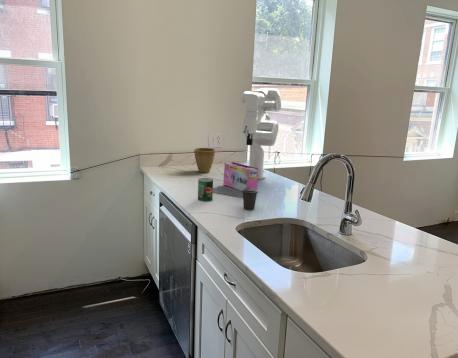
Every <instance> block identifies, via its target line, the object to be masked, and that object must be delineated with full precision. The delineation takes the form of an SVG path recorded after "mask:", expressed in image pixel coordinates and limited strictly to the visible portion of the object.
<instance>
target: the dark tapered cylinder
mask: <svg viewBox="0 0 458 358" xmlns="http://www.w3.org/2000/svg"><path fill="white" fill-rule="evenodd" d="M242 192H243V198H242V200H243V204H242V205H243V206H242V207H243V210H244V211H254V210H255V208H256V201H257V195H258V193H259V191H258V189H257V190H255V189H250V188H247V189H243V190H242Z"/></svg>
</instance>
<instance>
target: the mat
mask: <svg viewBox="0 0 458 358" xmlns="http://www.w3.org/2000/svg"><path fill="white" fill-rule="evenodd" d="M213 194H220V195H223V196H230V197H235V198H240V199H243V192H242V191H241V190H238V189H235V188H232V187H229V186H221V185H218V186H215V187H213Z"/></svg>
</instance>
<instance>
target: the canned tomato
mask: <svg viewBox="0 0 458 358" xmlns="http://www.w3.org/2000/svg"><path fill="white" fill-rule="evenodd" d="M213 188H214V179H213V178H210V177H200V178H198V181H197V201H198V202H204V203H207V202H212V201H213V200H214V199H213V197H214V192H213Z"/></svg>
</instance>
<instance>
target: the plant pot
mask: <svg viewBox="0 0 458 358" xmlns="http://www.w3.org/2000/svg"><path fill="white" fill-rule="evenodd" d="M193 152H194V158H195V164H196V167H197V169H198V172H199V173H202V174H205V173H206V174H208V173H210V172H211V169H212V167H213V163H214V159H215V154H216V149H215V148H212V147H197V148H194V149H193Z"/></svg>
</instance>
